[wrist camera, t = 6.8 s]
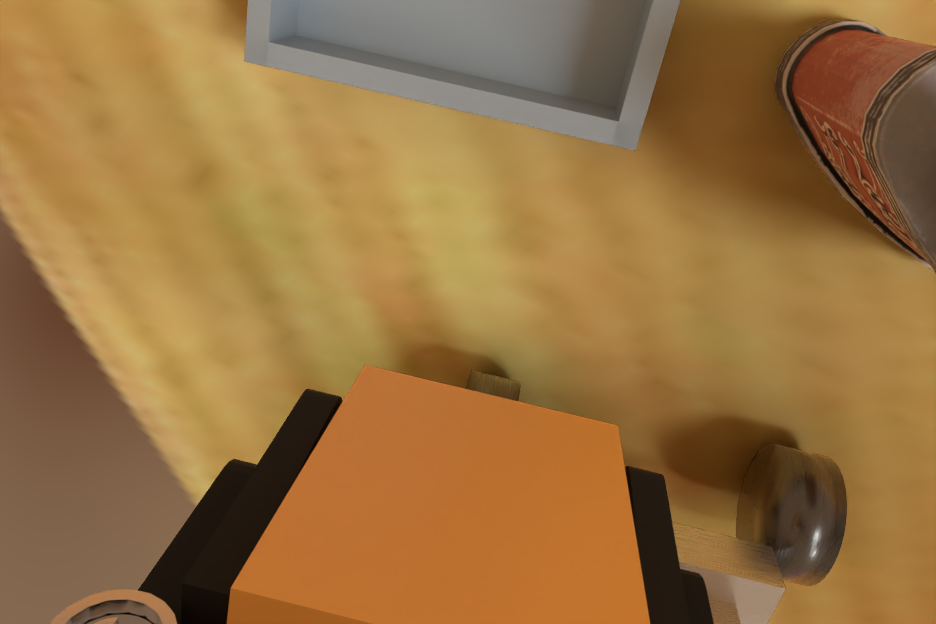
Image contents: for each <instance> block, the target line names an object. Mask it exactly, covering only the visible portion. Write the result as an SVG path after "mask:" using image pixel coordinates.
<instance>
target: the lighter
mask: <svg viewBox="0 0 936 624" xmlns="http://www.w3.org/2000/svg"><path fill="white" fill-rule="evenodd" d="M775 89H776V93H777V97H778V100H779V102H780V104H781V105H782V107H783V109H784V111H785V113H786V115H787V116H788V118H789V120H790V122H791V124H792V126H793V128H794V129H795V131H796V133H797V135H798V137H799V139H800V140H801V142H802V144H803V146H804V147H805V149H806V150H807V152H808V153H809V154H810V156H811V157H812V158H813V160H814V161H815V162H816V164H817V165H818V166H819V168H820V169H821V170H822V172H823V173H824V174H825V176H826V177H827V179H828V180H829V181H830V183H831V184H832V185H833V187H834V188H835V189H836V191H838V192H839V193H840V194H841V195H842V196H843V197H844V198H845V199H846V200H847V201H848V202H849V203H850V204H851V205H852V206H853V207H854V208H855V209H856V210H857V211H858V212H859V213H860V214H861V215H863V216H864V217H865V218H866V219H867V220H868V221H869V222H870V223H871V224H872V225H873V226H874V227H875V228H876V229H877V230H878V231H880V232H881V233H882V234H883V235H884V236H885V237H887V238H888V239H889V240H891V241H892V242H893V243H895V244H896V245H898V246H899V247H900V248H902V249H903V250H905V251H906V252H907V253H909V254H910V255H912V256H913V257H914V258H916V259H917V260H918V261H920V262H921V263H923V264H924V265H925V266H927V267H928V268H930V269H933V270H934V271H935V273H936V47H934V46H930V45H925V44H921V43H916V42H912V41H907V40H902V39H898V38H893V37H889V36H886V35H885V34H884V33H883V32H881V31H880V30H879V29H877V28H876V27H873V26H871V25H869V24H866V23H864V22H861V21H856V20H851V19H837V20H830V21H827V22H824V23H821V24H818V25H815V26H813V27H812V28H810V29H809V30H808V31H806V32H805V33H803V34H802V35H800V36H799V37H798V38H797V39H796V40H795V41H794V42H793V43H792V44H791V46H790V47H789V48H788V49H787V50H786V51H785V53H784V55H783V57H782V59H781V61H780V63H779V65H778V67H777V70H776V78H775Z"/></svg>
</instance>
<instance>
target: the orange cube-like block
mask: <svg viewBox="0 0 936 624" xmlns="http://www.w3.org/2000/svg"><path fill="white" fill-rule="evenodd" d="M227 624H650V619H649V613H648V607H647V601H646V595H645V589H644V582H643V576H642V570H641V564H640V558H639V552H638V546H637V539H636V533H635V527H634V521H633V515H632V509H631V503H630V496H629V490H628V484H627V478H626V472H625V466H624V460H623V454H622V447H621V441H620V435H619V429H618V425H614V424H610V423H606V422H602V421H598V420H594V419H589V418H585V417H581V416H577V415H573V414H568V413H564V412H560V411H556V410H552V409H548V408H543V407H539V406H535V405H531V404H527V403H523V402H518V401H514V400H510V399H506V398H502V397H498V396H493V395H489V394H485V393H481V392H477V391H473V390H468V389H464V388H460V387H456V386H452V385H447V384H443V383H439V382H435V381H431V380H427V379H422V378H418V377H414V376H410V375H406V374H402V373H397V372H393V371H389V370H385V369H381V368H377V367H372V366H368V365H364V367H363V369H362V370H361V372H360V374H359V375H358V377H357V379H356V380H355V382H354V384H353V385H352V387H351V389H350V390H349V392H348V394H347V395H346V397H345V399H344V400H343V402H342V404H341V405H340V407H339V409H338V410H337V412H336V414H335V415H334V417H333V419H332V420H331V422H330V424H329V425H328V427H327V429H326V430H325V432H324V434H323V435H322V437H321V439H320V440H319V442H318V444H317V445H316V447H315V449H314V450H313V452H312V454H311V455H310V457H309V459H308V460H307V462H306V464H305V465H304V467H303V468H302V470H301V472H300V473H299V475H298V477H297V478H296V480H295V482H294V483H293V485H292V487H291V488H290V490H289V492H288V493H287V495H286V497H285V498H284V500H283V502H282V503H281V505H280V507H279V508H278V510H277V512H276V513H275V515H274V517H273V518H272V520H271V522H270V523H269V525H268V527H267V528H266V530H265V532H264V533H263V535H262V537H261V538H260V540H259V542H258V543H257V545H256V547H255V548H254V550H253V552H252V553H251V555H250V557H249V558H248V560H247V562H246V563H245V565H244V567H243V568H242V570H241V572H240V573H239V575H238V577H237V578H236V580H235V582H234V583H233V585H232V587H231V590H230V599H229V608H228V616H227Z"/></svg>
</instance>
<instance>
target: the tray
mask: <svg viewBox="0 0 936 624" xmlns="http://www.w3.org/2000/svg"><path fill="white" fill-rule="evenodd" d="M680 1H681V0H248V4H247V22H246V40H245V58H244V61H245V62H249V63H253V64H258V65H262V66H266V67H271V68H275V69H280V70H284V71H288V72H293V73H297V74H301V75H306V76H310V77H315V78H319V79H323V80H328V81H332V82H336V83H341V84H345V85H350V86H354V87H358V88H363V89H367V90H371V91H376V92H380V93H385V94H389V95H393V96H398V97H402V98H406V99H411V100H415V101H420V102H424V103H428V104H433V105H437V106H441V107H446V108H450V109H455V110H459V111H463V112H468V113H472V114H476V115H481V116H485V117H490V118H494V119H498V120H503V121H507V122H511V123H516V124H520V125H525V126H529V127H533V128H538V129H542V130H546V131H551V132H555V133H560V134H564V135H568V136H573V137H577V138H582V139H586V140H590V141H595V142H599V143H603V144H608V145H612V146H617V147H621V148H625V149H630V150H634V151H636V147H637V144H638V141H639V137H640V134H641V131H642V127H643V124H644V121H645V117H646V114H647V111H648V107H649V104H650V101H651V97H652V94H653V91H654V87H655V84H656V81H657V77H658V74H659V71H660V67H661V64H662V61H663V57H664V54H665V51H666V47H667V44H668V41H669V37H670V34H671V31H672V27H673V24H674V21H675V17H676V14H677V11H678V7H679V4H680Z"/></svg>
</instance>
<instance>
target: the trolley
mask: <svg viewBox="0 0 936 624" xmlns="http://www.w3.org/2000/svg"><path fill="white" fill-rule="evenodd" d="M466 389H468V390H473V391H477V392H481V393H485V394H489V395H493V396H498V397H502V398H506V399H510V400H514V401H518V399H519V393H520V382H519V381H515V380H510V379H506V378H502V377H498V376H494V375H490V374H486V373H482V372H478V371H473V370H471V372H470V376H469V379H468V383H467V387H466ZM846 513H847V501H846V490H845V485H844V480H843V477H842V474H841V472H840V470H839V468H838V466H837V465H836V463H835V462H834V461H833V460H832V459H830V458H829V457H826V456H823V455H818V454H814V453H810V452H806V451H802V450H798V449H794V448H790V447H786V446H781V445H777V444H768V445H766V446H764V447H763V448H762V449H761V450H760V451H759V452H758V453H757V454H756V456H755V457H754V459H753V460H752V462H751V464H750V466H749V468H748V470H747V473H746V475H745V478H744V481H743V484H742V488H741V492H740V496H739V501H738V508H737V517H736V538H734V537H730V536H726V535H722V534H718V533H714V532H710V531H706V530H702V529H698V528H694V527H690V526H686V525H682V524H678V523H674V522H672V524H673V530H674V536H675V542H676V547H677V553H678V559H679V565H680V569H683V570H687V571H691V572H695V573H699V574H700V575H701V576H702V577H703V579H704V582H705V585H706V589H707V593H708V598H709V603H710V608H711V612H712V617H713V622H714V624H767V623H768V621H769V619H770V617H771V616H772V614H773V612H774V610H775V608H776V606H777V604H778V603H779V601H780V599H781V597H782V595H783V593H784V591H785V590H786V588H785V585H784V582H783V580H784V581H788V582H792V583H796V584H799V585H804V586H813V585H815V584H817V583H819V582H820V581H821V580H822V579H823V578H825V576H826V575H827V574H828V573H829V571H830V569H831V568H832V566H833V564H834V562H835V560H836V558H837V556H838V553H839V550H840V547H841V544H842V540H843V536H844V531H845V525H846Z"/></svg>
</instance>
